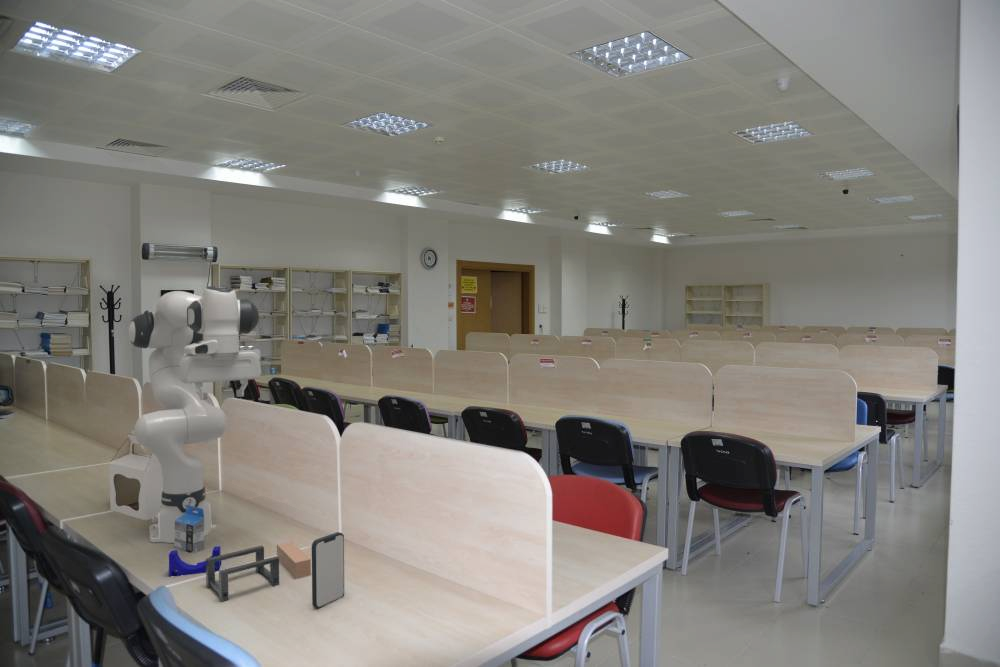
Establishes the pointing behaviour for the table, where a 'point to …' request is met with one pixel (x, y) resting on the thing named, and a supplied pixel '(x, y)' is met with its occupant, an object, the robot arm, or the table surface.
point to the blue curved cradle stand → (187, 569)
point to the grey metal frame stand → (240, 569)
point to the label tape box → (190, 530)
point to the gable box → (135, 480)
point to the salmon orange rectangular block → (294, 560)
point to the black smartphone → (327, 569)
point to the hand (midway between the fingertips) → (222, 398)
